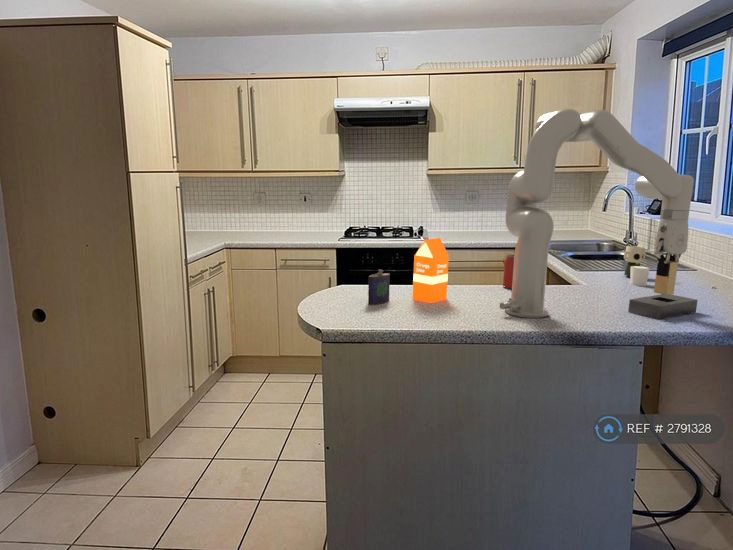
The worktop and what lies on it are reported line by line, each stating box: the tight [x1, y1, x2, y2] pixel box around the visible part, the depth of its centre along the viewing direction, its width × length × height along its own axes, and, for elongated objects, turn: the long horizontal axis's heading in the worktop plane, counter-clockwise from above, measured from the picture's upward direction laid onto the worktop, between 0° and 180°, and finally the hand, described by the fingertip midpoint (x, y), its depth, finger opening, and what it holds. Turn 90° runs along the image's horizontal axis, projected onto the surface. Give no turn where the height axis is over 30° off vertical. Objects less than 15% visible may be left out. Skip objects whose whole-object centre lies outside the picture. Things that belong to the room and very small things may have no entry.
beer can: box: [502, 254, 514, 290], centre depth 203 cm, size 7×7×12 cm
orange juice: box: [412, 237, 450, 304], centre depth 179 cm, size 8×9×20 cm
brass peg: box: [653, 261, 679, 295], centre depth 170 cm, size 4×4×10 cm
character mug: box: [623, 245, 647, 278], centre depth 231 cm, size 11×7×13 cm, turn 108°
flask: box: [367, 269, 391, 306], centre depth 173 cm, size 9×3×11 cm, turn 138°
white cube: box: [629, 265, 651, 287], centre depth 216 cm, size 7×7×7 cm
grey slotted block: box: [627, 294, 698, 320], centre depth 171 cm, size 20×10×4 cm, turn 121°
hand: (666, 274), depth 170 cm, fingers closed on brass peg, 4 cm apart
